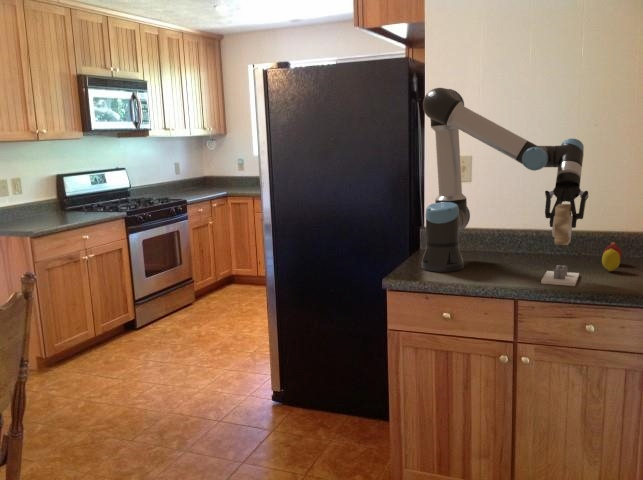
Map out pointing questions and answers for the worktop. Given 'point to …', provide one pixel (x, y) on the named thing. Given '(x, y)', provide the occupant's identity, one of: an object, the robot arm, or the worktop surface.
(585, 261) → the worktop surface
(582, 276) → the worktop surface
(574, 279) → the peg rest
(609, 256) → the lemon
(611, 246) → the onion
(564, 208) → the tan wooden block
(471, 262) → the worktop surface
